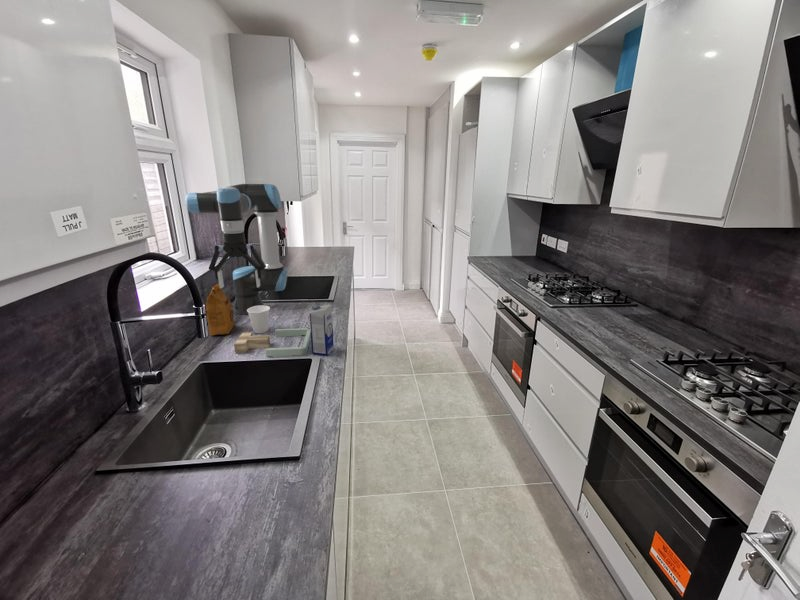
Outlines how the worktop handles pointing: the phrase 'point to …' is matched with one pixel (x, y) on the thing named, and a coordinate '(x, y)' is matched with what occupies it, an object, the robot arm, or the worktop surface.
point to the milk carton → (321, 330)
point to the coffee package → (219, 312)
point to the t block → (251, 342)
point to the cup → (259, 318)
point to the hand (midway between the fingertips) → (240, 287)
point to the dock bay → (291, 350)
